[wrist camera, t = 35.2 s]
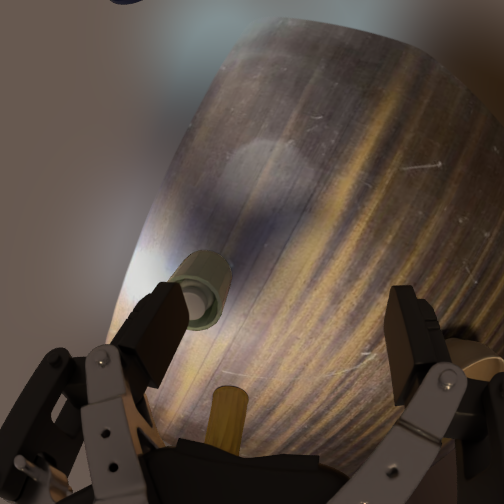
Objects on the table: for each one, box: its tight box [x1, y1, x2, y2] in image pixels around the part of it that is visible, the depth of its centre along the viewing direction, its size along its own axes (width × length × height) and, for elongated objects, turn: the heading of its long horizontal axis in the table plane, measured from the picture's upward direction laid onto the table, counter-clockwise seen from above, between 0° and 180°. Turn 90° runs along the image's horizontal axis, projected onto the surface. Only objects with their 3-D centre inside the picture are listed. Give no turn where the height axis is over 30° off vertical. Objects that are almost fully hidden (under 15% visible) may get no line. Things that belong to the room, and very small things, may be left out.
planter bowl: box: [445, 338, 504, 381], centre depth 36 cm, size 16×16×11 cm
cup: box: [167, 250, 232, 331], centre depth 35 cm, size 7×7×8 cm
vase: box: [204, 386, 249, 456], centre depth 39 cm, size 6×6×14 cm
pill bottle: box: [180, 278, 215, 320], centre depth 35 cm, size 4×4×8 cm
